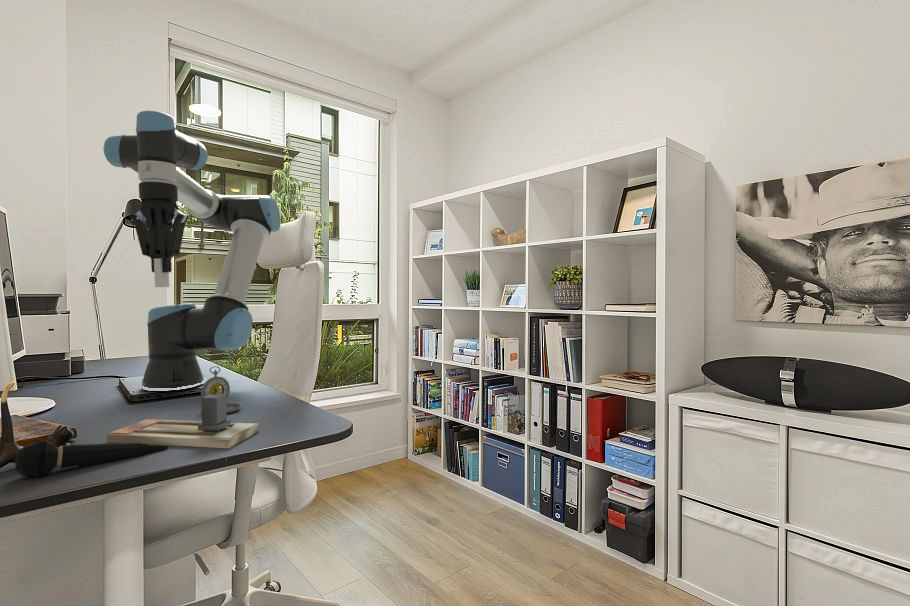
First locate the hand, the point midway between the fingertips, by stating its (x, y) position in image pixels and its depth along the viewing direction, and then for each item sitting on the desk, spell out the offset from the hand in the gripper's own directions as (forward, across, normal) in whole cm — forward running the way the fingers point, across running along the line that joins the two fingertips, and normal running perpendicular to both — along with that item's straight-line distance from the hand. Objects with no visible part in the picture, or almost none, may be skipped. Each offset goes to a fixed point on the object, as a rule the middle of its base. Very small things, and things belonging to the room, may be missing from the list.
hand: (162, 286), depth 111 cm
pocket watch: (+29, +14, 0) cm, 32 cm away
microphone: (+28, +13, -34) cm, 46 cm away
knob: (+26, +24, -20) cm, 41 cm away
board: (+28, +18, -19) cm, 39 cm away
